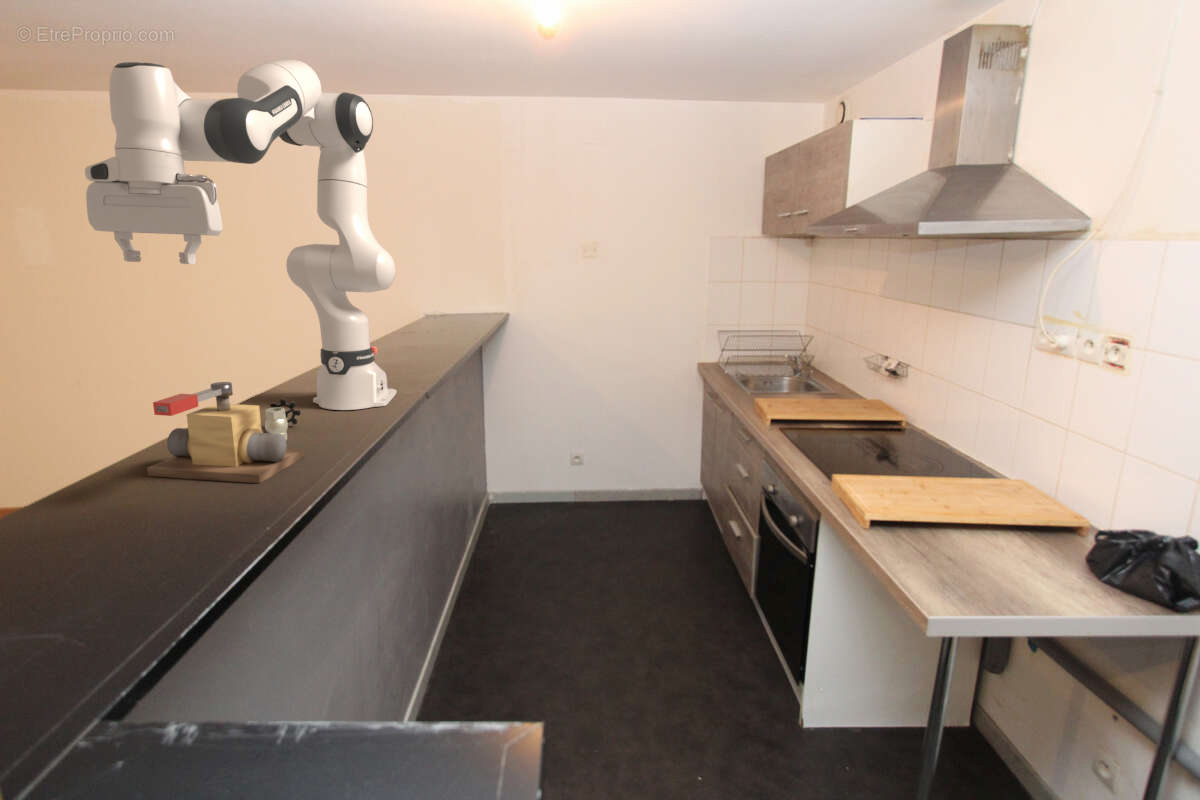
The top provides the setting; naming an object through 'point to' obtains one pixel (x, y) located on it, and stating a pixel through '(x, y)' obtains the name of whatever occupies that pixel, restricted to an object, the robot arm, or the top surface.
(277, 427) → the valve
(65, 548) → the top surface
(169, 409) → the valve lever
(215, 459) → the valve manifold
